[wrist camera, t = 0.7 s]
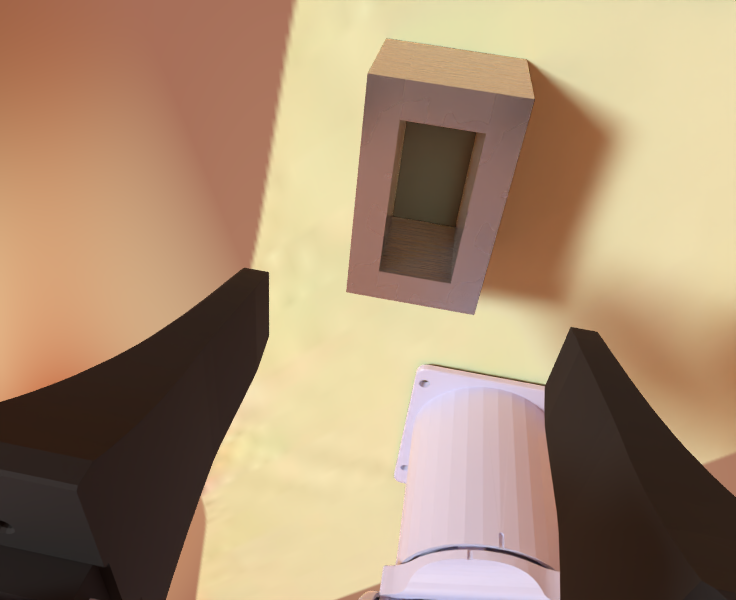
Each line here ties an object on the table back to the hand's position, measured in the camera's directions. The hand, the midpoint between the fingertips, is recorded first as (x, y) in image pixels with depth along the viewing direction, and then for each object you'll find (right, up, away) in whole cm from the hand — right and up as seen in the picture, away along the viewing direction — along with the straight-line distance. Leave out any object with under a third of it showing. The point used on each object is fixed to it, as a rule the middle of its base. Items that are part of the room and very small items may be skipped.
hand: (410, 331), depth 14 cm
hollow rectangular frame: (+2, +6, +8) cm, 10 cm away
